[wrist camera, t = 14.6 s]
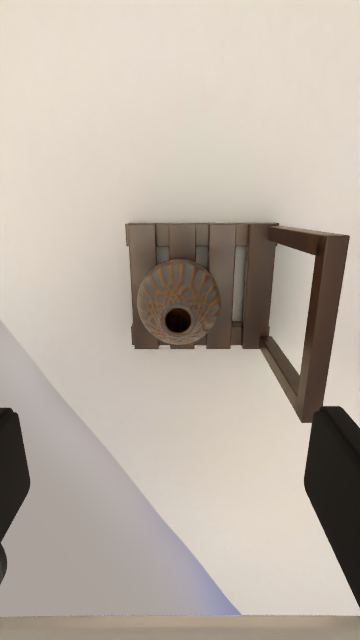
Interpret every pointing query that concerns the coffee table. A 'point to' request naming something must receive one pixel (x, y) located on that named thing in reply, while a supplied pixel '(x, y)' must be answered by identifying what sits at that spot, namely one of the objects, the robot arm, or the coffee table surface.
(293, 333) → the coffee table surface
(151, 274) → the vase
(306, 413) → the rack
